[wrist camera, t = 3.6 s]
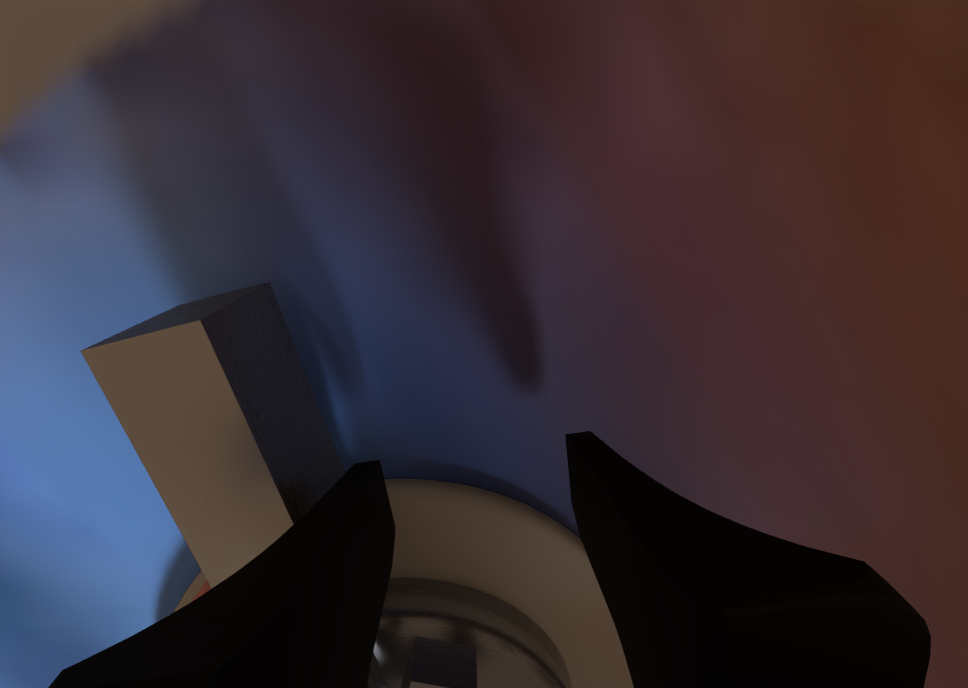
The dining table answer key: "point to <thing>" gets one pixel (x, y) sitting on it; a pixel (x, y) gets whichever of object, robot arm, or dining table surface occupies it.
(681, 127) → the dining table surface
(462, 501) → the flange plate
